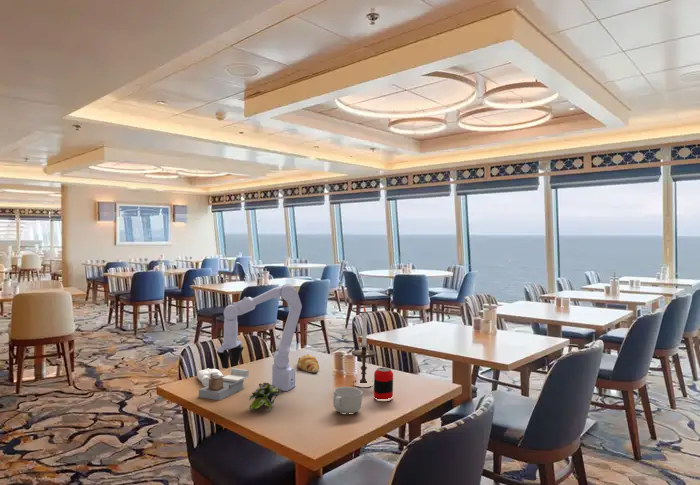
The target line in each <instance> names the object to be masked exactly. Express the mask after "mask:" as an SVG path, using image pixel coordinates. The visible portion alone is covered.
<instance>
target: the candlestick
mask: <svg viewBox="0 0 700 485" xmlns="http://www.w3.org/2000/svg"><path fill="white" fill-rule="evenodd" d="M363 313H364V314H363V315H362V326H361V327H362V328H361V329H362V333H361V334H362V336H361V340H362V341H361V345H359V347H360V348H361V349H354V350H352V351H351V355H352V356H353V357H357V358H361V359H362V362H361V363H362V364H361V366H360V370H361V372H360V375H361V377H362V378H361V379H359V380H360V383H367V381H366V380H367V379H366V375H367V369H368V367H367V366H366V359H367V358H373V357H376V356H377V351H376V350H372V349H367V348H369V345H367V337H368V336H367V332H368V330H367V328H368V326H367V325H368V324H367V322H368V321H367V320H368V316H367V315H366V308H365V306H363ZM353 383H354V381H353Z"/></svg>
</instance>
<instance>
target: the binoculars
mask: <svg viewBox="0 0 700 485" xmlns="http://www.w3.org/2000/svg"><path fill="white" fill-rule="evenodd" d="M214 375H219V376H220V377H222V376H224V377H225V376H226V375H223V373H222V372H221V371H220V369H216V368H209V367H208V368H205V369H202V370H198V371H197V375H196V376H197V380H199V382H201V384H202V386H203V387H206V386H208V385H209V379H211V378H212V376H214Z"/></svg>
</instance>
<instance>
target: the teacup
mask: <svg viewBox="0 0 700 485" xmlns="http://www.w3.org/2000/svg"><path fill="white" fill-rule="evenodd" d="M362 401H363V391H362V390H361V389H359V388H358V387H351V386H339V387H336V388H333V402H332V403H333V407H334V409H335V410H336V411H337V412H338V413H339V412H340V413H339V414H341V413H346V414H349V413H355V412H356V413H357V412H358V411H360V409H361V406H362V404H363V403H362ZM356 413H355V414H356Z"/></svg>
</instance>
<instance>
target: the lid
mask: <svg viewBox="0 0 700 485" xmlns="http://www.w3.org/2000/svg"><path fill="white" fill-rule="evenodd" d="M249 372H250V370H249V369H242V368H241V369H240V368H235V367H232V368H231V369H230V374H227V375H224V376H225V377H222V378H223V381H230V382H237V381H239V380H241V379H244V381H245V380H247V379H249V375H250V374H249Z"/></svg>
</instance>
